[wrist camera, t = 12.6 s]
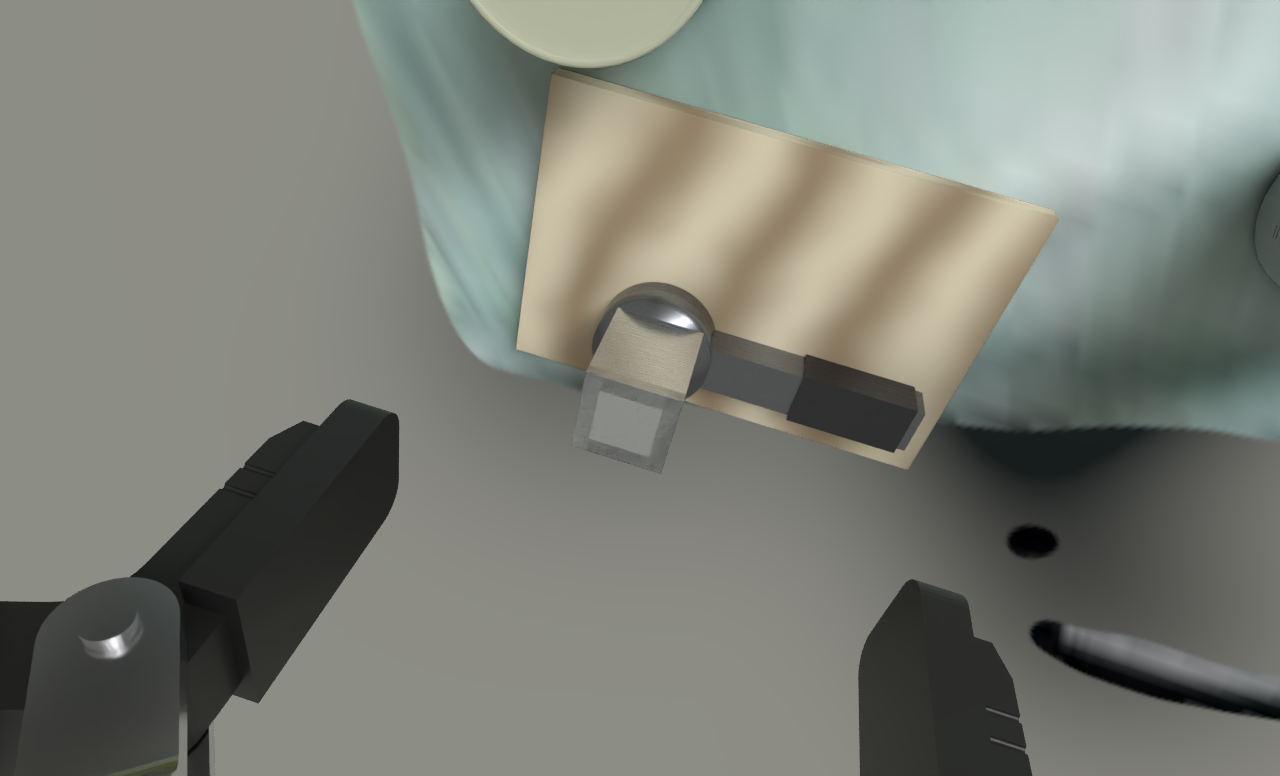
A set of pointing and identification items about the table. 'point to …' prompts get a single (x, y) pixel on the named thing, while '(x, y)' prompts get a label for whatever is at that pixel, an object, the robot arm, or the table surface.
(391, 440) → the robot arm
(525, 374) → the table surface
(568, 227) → the board
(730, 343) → the ratchet
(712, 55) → the table surface
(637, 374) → the grey pocketed block
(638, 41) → the cream cylinder
